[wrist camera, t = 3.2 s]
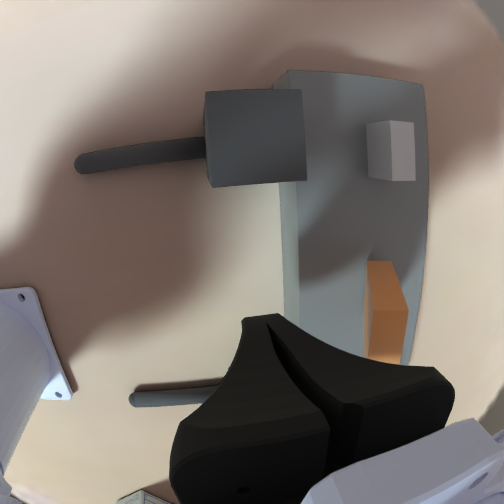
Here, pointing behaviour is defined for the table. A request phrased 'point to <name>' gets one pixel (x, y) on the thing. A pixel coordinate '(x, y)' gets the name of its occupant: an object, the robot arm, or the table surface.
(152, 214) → the table surface
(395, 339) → the orange rectangular block
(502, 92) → the table surface
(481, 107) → the table surface
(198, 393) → the plug
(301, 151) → the plug
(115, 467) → the table surface
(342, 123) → the power strip
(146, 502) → the medicine box
